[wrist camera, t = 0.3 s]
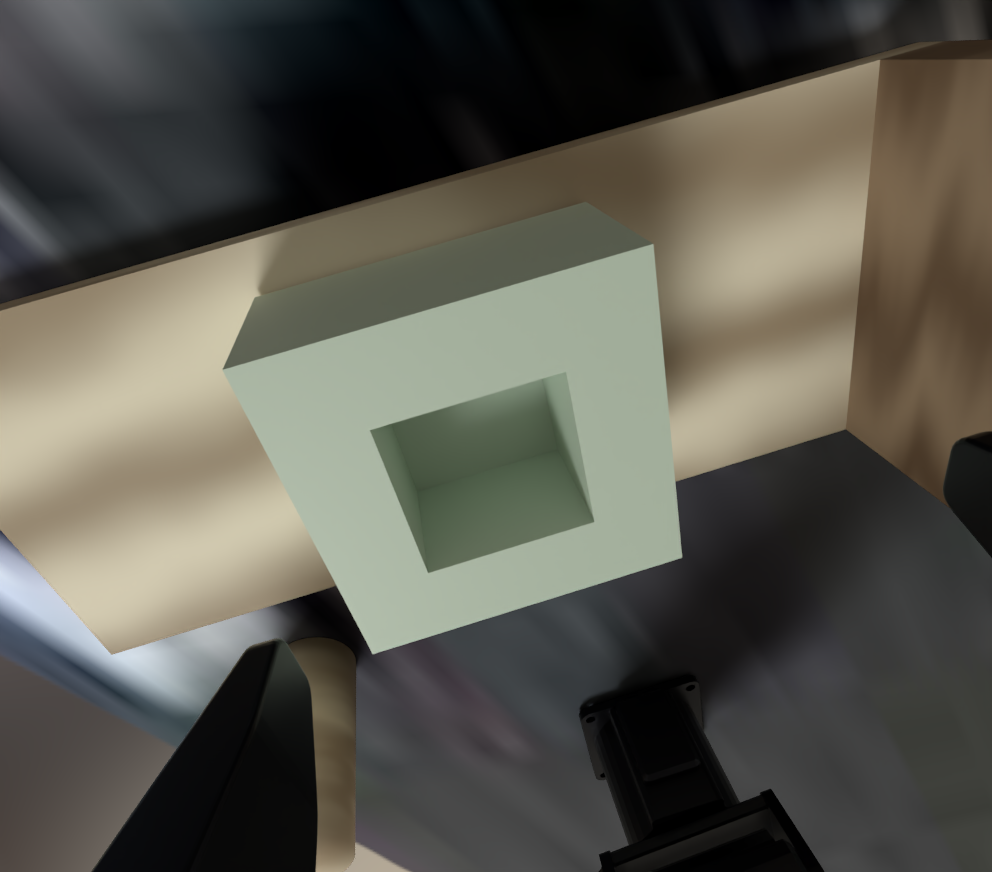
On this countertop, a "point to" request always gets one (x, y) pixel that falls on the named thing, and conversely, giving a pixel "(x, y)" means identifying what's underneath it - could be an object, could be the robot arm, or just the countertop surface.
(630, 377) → the socket block
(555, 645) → the countertop surface
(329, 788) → the dowel
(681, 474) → the wall board
